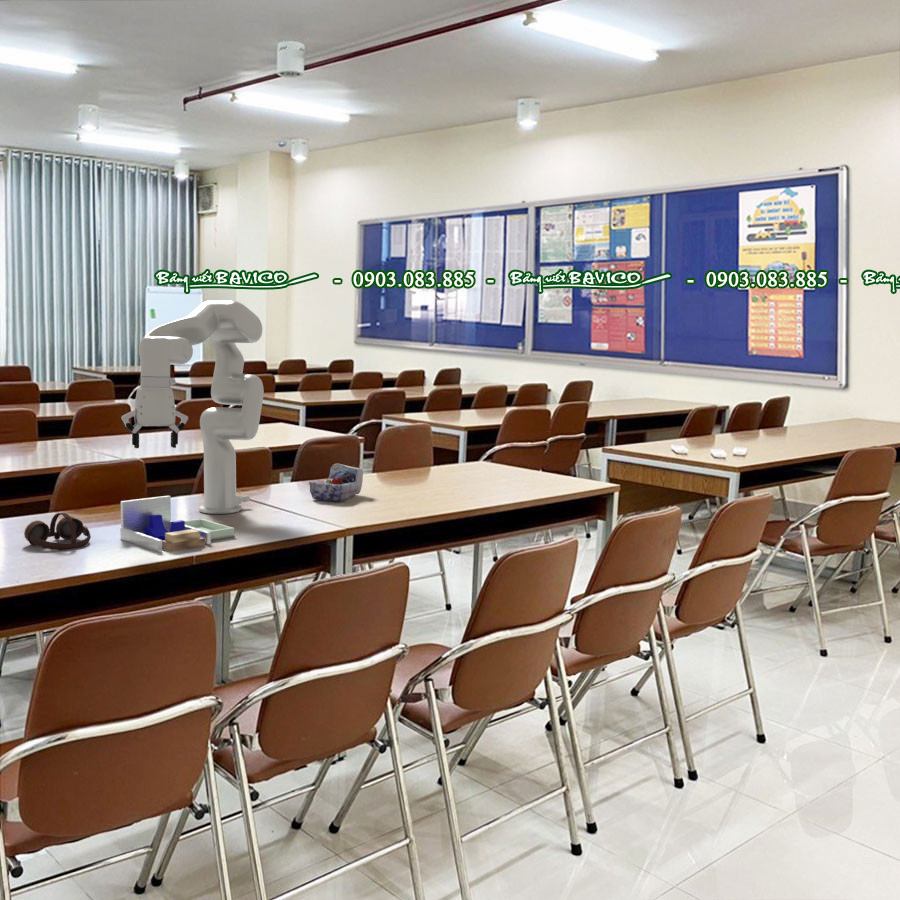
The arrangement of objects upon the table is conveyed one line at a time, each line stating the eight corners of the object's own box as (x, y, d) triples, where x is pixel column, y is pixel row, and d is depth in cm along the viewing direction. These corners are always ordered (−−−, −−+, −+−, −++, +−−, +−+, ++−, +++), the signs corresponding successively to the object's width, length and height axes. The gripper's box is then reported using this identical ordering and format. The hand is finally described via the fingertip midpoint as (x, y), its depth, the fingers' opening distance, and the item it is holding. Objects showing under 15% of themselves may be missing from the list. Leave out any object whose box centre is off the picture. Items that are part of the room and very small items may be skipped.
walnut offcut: (195, 544, 268) (195, 535, 267) (204, 547, 265) (204, 538, 264) (161, 550, 261) (160, 540, 260) (170, 553, 258) (169, 543, 257)
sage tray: (201, 527, 287) (201, 518, 287) (234, 537, 276) (234, 527, 275) (174, 531, 281) (174, 522, 281) (206, 541, 270) (206, 532, 269)
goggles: (75, 535, 273) (79, 500, 270) (101, 554, 265) (104, 518, 262) (20, 544, 261) (23, 508, 259) (44, 564, 254) (48, 527, 251)
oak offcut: (192, 536, 266) (192, 529, 266) (199, 538, 264) (199, 531, 264) (165, 540, 260) (165, 533, 260) (172, 543, 258) (172, 535, 258)
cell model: (367, 463, 343) (341, 473, 324) (366, 494, 345) (341, 506, 326) (332, 460, 347) (304, 469, 328) (332, 491, 349) (304, 502, 330)
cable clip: (144, 538, 273) (144, 516, 272) (159, 536, 276) (158, 514, 275) (170, 545, 265) (169, 523, 264) (184, 543, 268) (184, 520, 267)
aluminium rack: (170, 531, 281) (169, 495, 280) (210, 543, 267) (210, 506, 266) (119, 538, 271) (118, 501, 270) (158, 552, 257) (157, 513, 255)
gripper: (184, 383, 278) (184, 445, 280) (119, 382, 270) (119, 446, 272) (191, 384, 272) (191, 448, 273) (124, 383, 264) (124, 449, 265)
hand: (155, 447), depth 273 cm, fingers open, 9 cm apart
